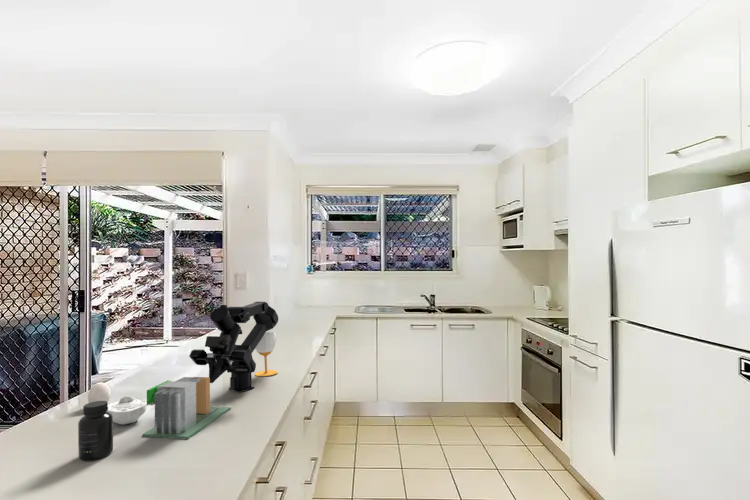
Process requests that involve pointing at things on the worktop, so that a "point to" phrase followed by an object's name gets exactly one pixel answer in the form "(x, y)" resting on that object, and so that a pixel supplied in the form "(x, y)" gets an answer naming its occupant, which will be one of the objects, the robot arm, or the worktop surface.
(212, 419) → the board
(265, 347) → the cup
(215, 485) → the worktop surface
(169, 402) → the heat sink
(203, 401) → the orange block
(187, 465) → the worktop surface
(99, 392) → the egg
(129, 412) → the cell model
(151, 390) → the pipe clamp
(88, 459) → the supplement bottle
